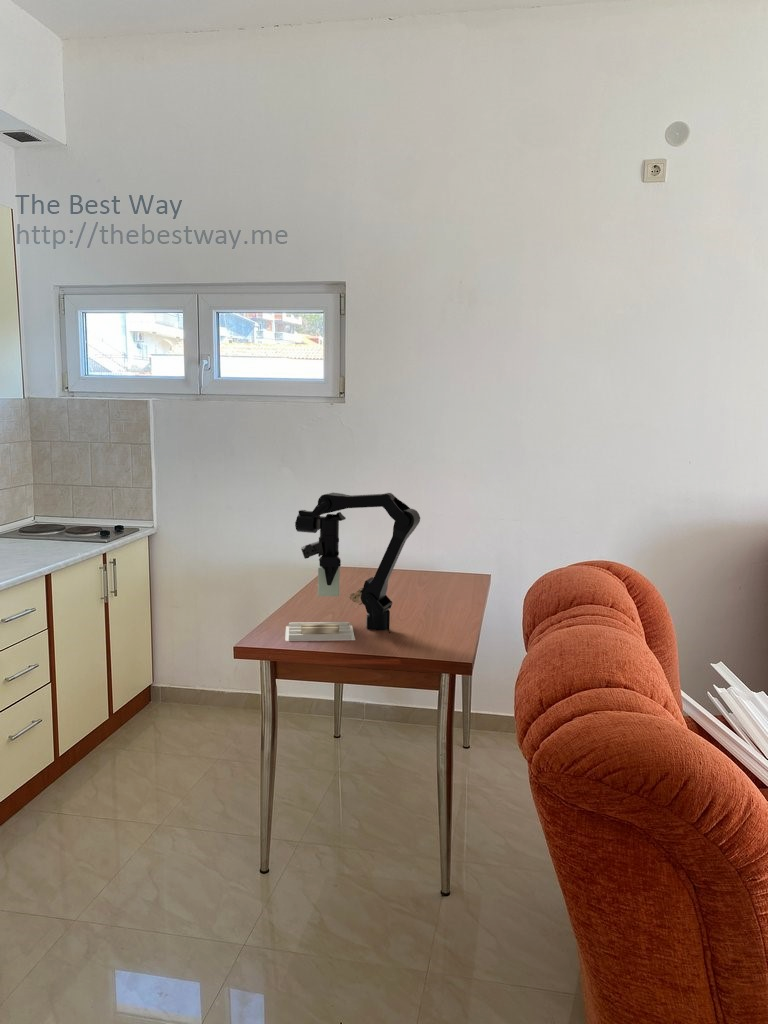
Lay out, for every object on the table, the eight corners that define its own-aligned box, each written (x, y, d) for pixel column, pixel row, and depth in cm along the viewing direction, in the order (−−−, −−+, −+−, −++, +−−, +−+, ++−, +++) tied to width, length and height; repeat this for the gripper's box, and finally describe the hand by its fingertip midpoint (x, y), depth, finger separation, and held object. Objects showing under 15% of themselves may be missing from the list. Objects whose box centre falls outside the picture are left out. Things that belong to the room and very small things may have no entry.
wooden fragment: (362, 587, 296) (362, 584, 296) (390, 589, 294) (390, 587, 293) (340, 603, 272) (340, 600, 272) (370, 606, 269) (370, 603, 269)
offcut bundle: (338, 635, 229) (339, 624, 228) (339, 638, 226) (339, 626, 226) (300, 636, 228) (301, 624, 227) (301, 639, 225) (301, 627, 224)
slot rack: (351, 628, 240) (351, 620, 239) (355, 643, 225) (355, 635, 225) (286, 629, 238) (286, 621, 237) (285, 644, 223) (285, 635, 223)
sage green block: (338, 594, 244) (339, 565, 243) (339, 596, 241) (339, 567, 240) (317, 594, 243) (318, 565, 242) (318, 596, 240) (318, 567, 239)
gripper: (302, 529, 248) (302, 577, 250) (302, 539, 230) (302, 591, 232) (338, 529, 249) (337, 577, 251) (341, 539, 231) (340, 591, 233)
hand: (328, 584), depth 242 cm, fingers closed on sage green block, 3 cm apart
